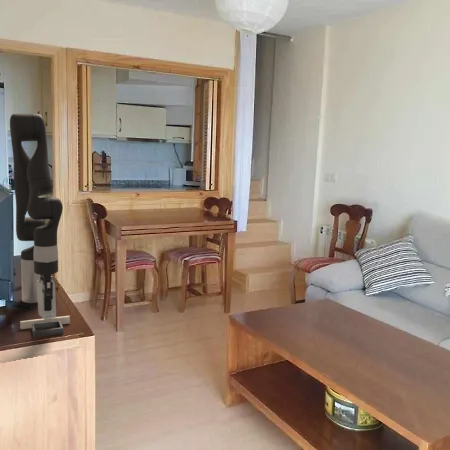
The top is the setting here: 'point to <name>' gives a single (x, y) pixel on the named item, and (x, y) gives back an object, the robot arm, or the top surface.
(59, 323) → the frame
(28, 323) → the door edge rail
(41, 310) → the skincare box
